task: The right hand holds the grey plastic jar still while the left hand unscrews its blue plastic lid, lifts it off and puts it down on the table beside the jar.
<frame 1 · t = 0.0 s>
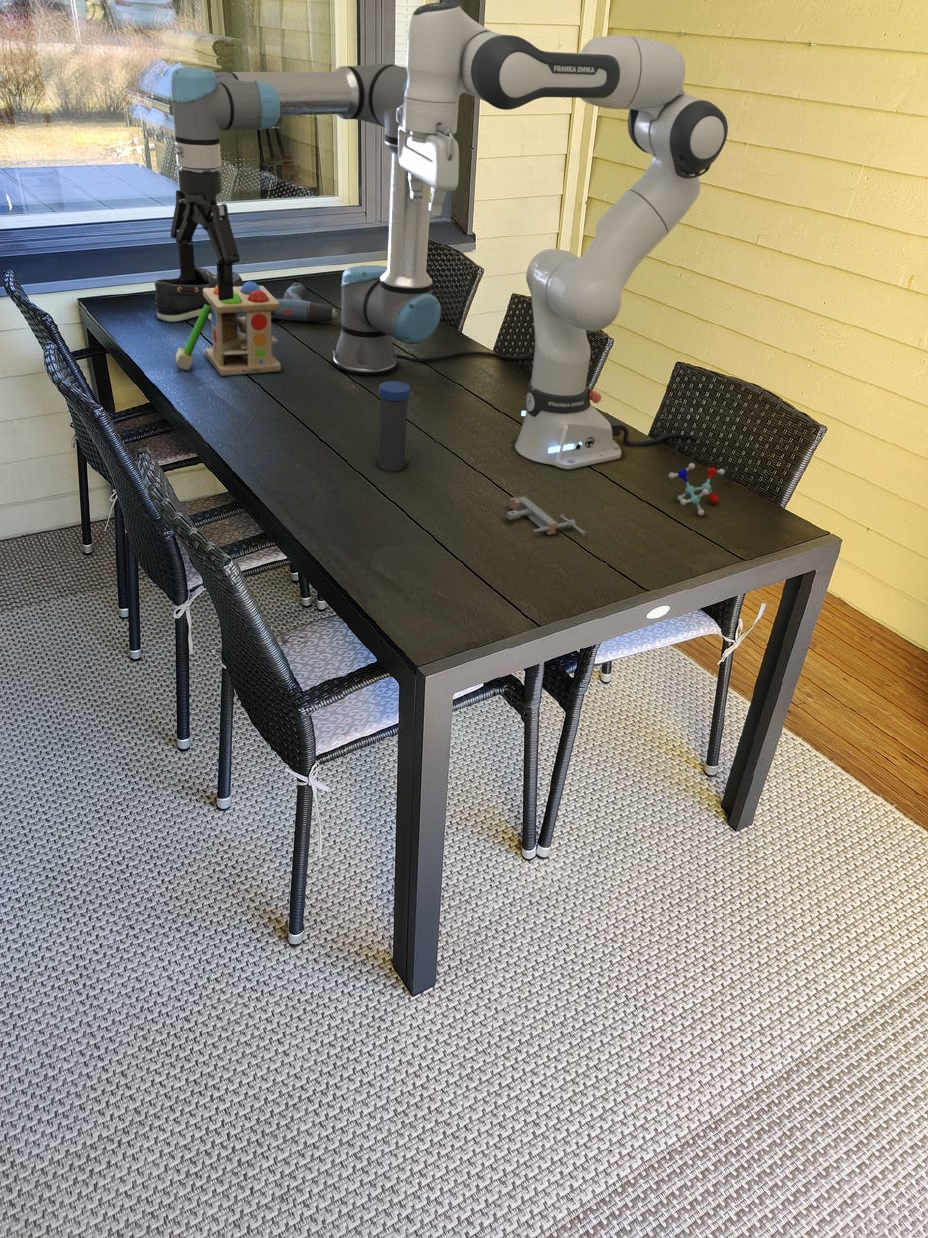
left hand: (206, 289, 186), 28 cm above the table, tool pointing down, fingers open, 13 cm apart
right hand: (425, 208, 168), 48 cm above the table, tool pointing down, fingers open, 8 cm apart
boat shoe: (202, 306, 265), on the table
lid: (394, 388, 185), point 16 cm above the table, screwed on, not yet turned
clamp: (540, 525, 178), on the table
jar: (391, 465, 194), on the table
power drill: (305, 313, 267), on the table
molecular model: (690, 504, 190), on the table
pounding bench toy: (225, 365, 230), on the table
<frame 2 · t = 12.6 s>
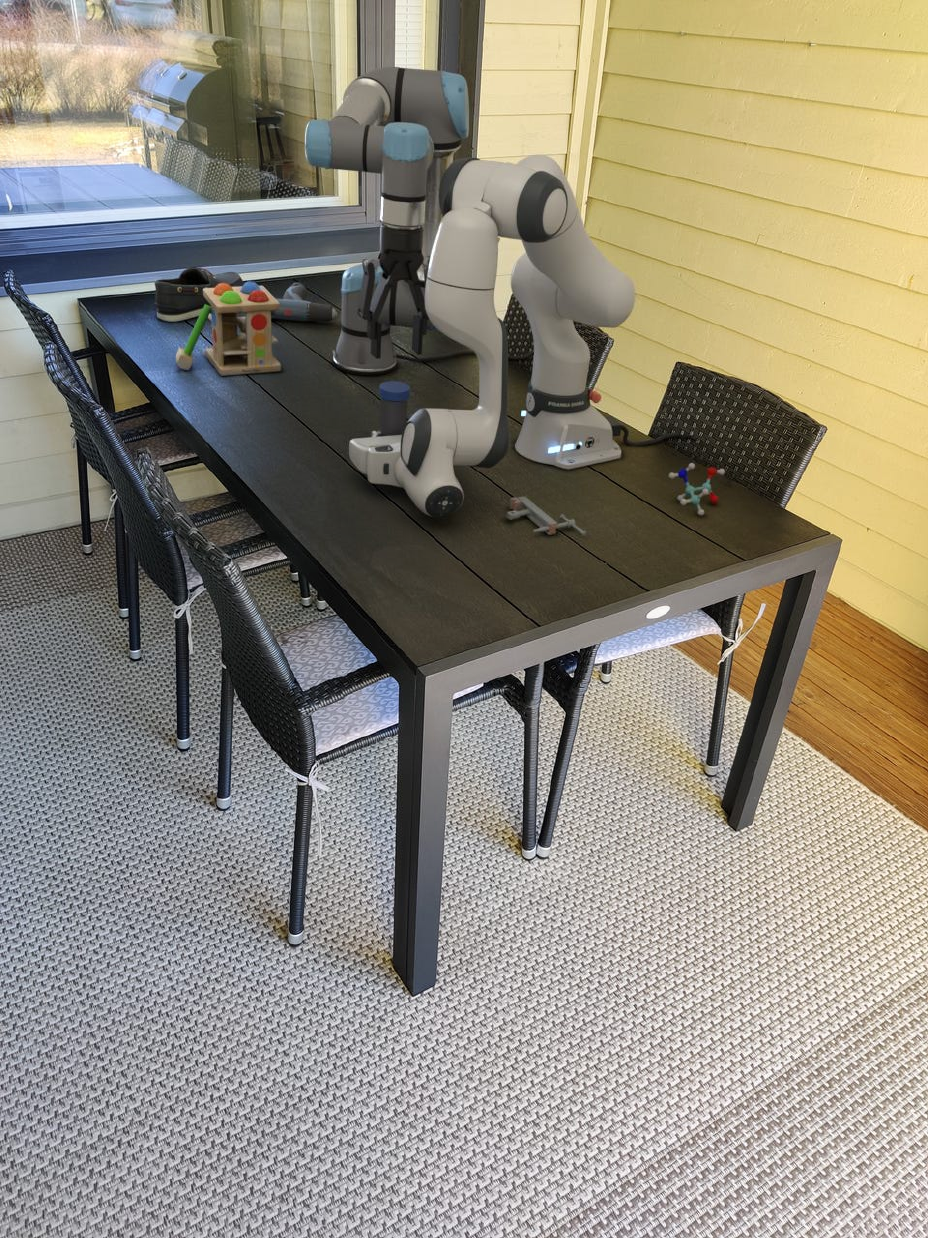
left hand: (396, 353, 181), 23 cm above the table, tool pointing down, fingers open, 8 cm apart
right hand: (390, 432, 191), 7 cm above the table, tool horizontal, fingers closed on jar, 5 cm apart
jar: (391, 465, 194), on the table, touching right hand
everything else where it was.
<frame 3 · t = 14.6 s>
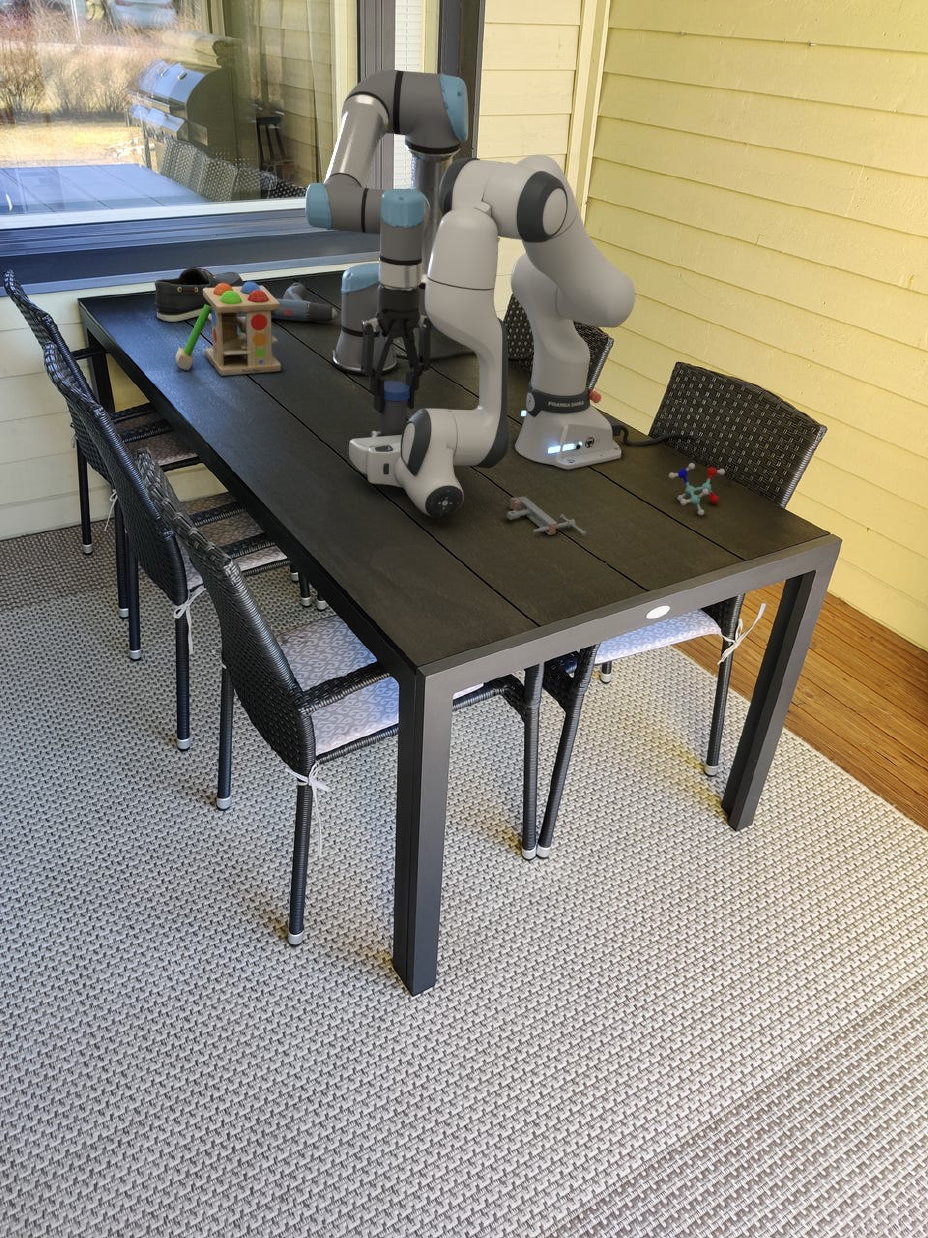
left hand: (393, 407, 187), 12 cm above the table, tool pointing down, fingers closed on lid, 6 cm apart
right hand: (390, 432, 191), 7 cm above the table, tool horizontal, fingers closed on jar, 5 cm apart
lid: (394, 388, 185), point 16 cm above the table, screwed on, not yet turned, touching left hand
jar: (391, 465, 194), on the table, touching right hand
everything else where it was.
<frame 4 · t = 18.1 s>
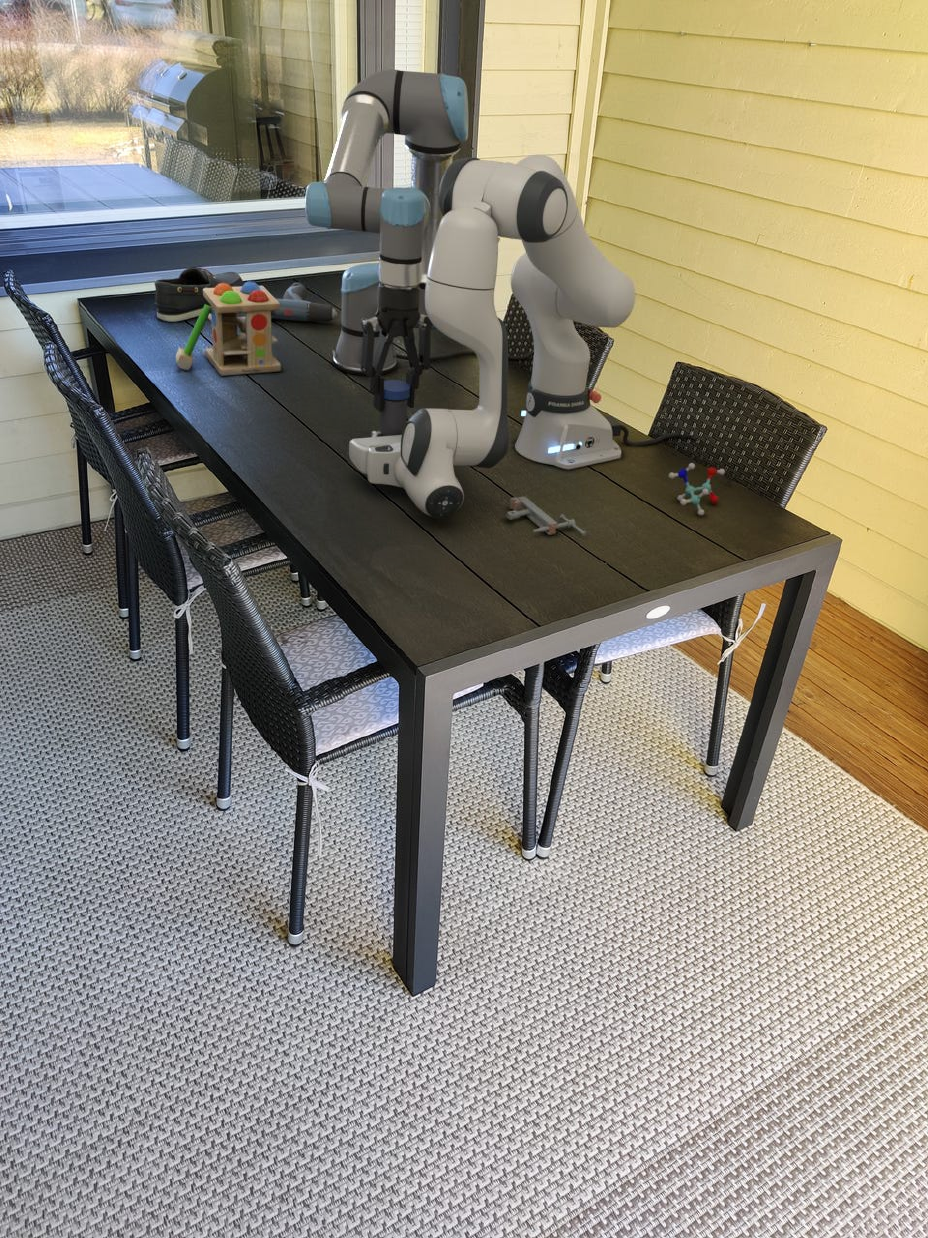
left hand: (393, 406, 187), 12 cm above the table, tool pointing down, fingers closed on lid, 6 cm apart
right hand: (390, 432, 191), 7 cm above the table, tool horizontal, fingers closed on jar, 5 cm apart
lid: (394, 387, 184), point 16 cm above the table, turned 122° so far, risen 0.2 cm, still on its thread, touching left hand
jar: (391, 465, 194), on the table, touching right hand
everything else where it was.
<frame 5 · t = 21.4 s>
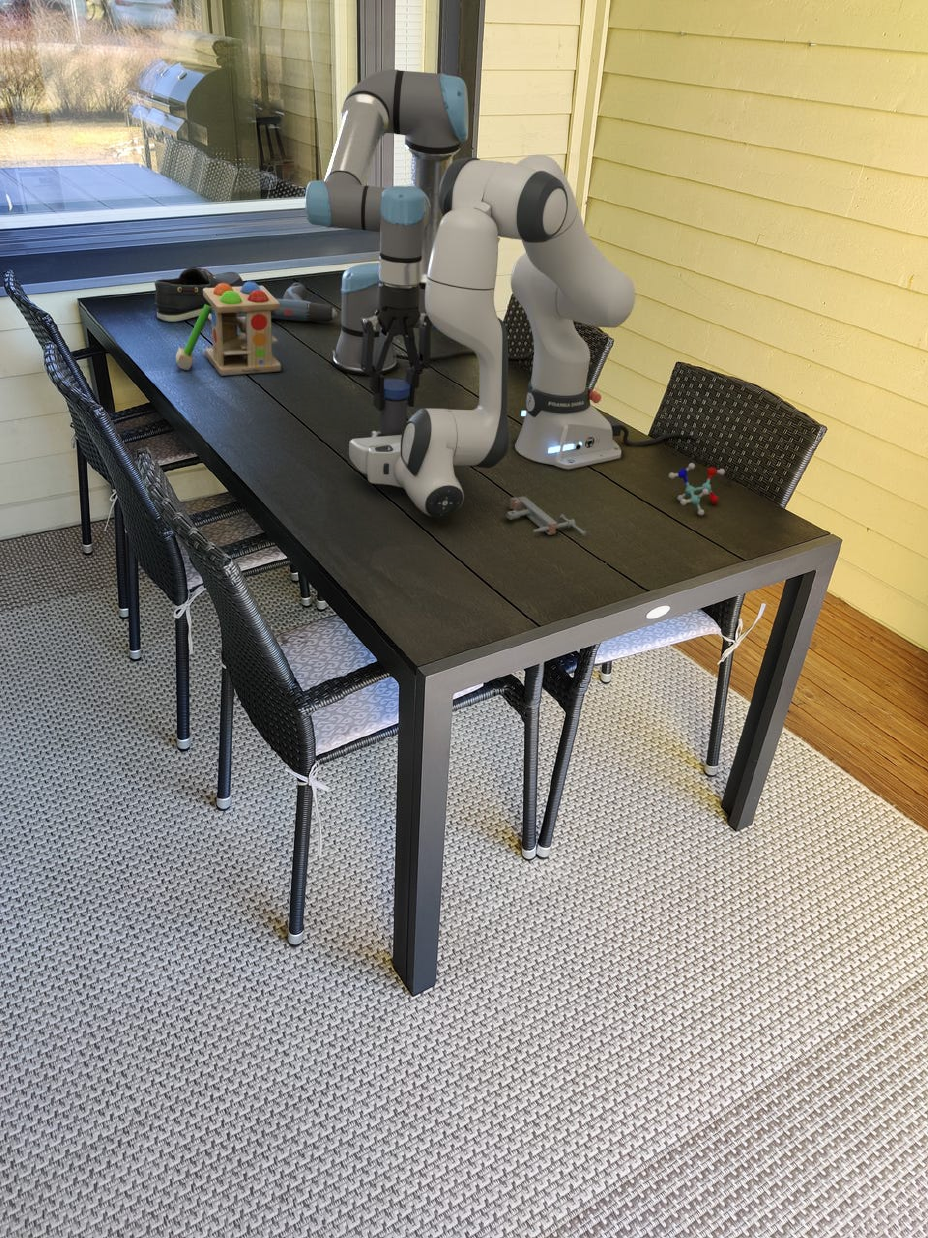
left hand: (393, 405, 187), 12 cm above the table, tool pointing down, fingers closed on lid, 6 cm apart
right hand: (390, 432, 191), 7 cm above the table, tool horizontal, fingers closed on jar, 5 cm apart
lid: (394, 386, 184), point 16 cm above the table, turned 244° so far, risen 0.4 cm, still on its thread, touching left hand
jar: (391, 465, 194), on the table, touching right hand
everything else where it was.
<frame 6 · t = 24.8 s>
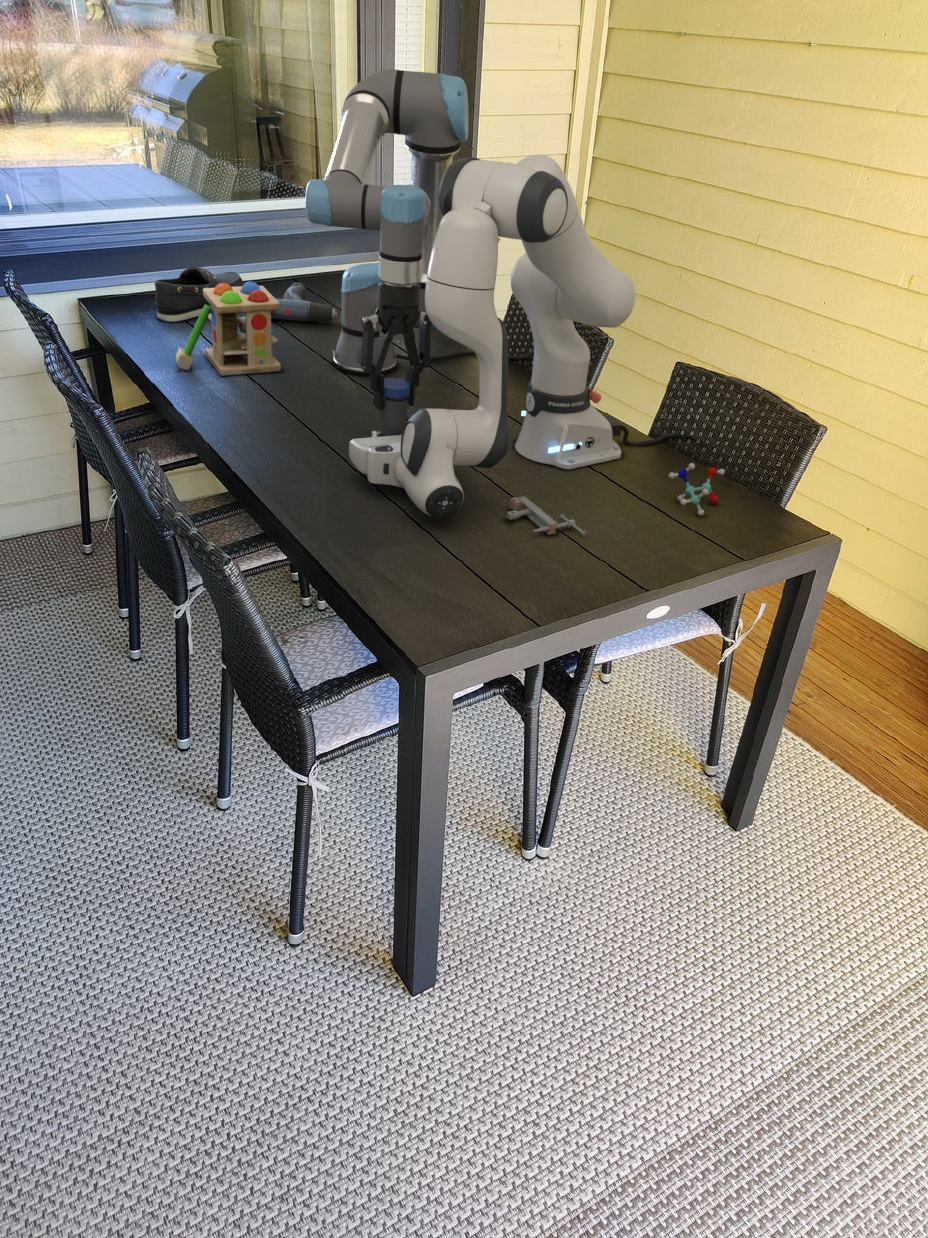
left hand: (393, 404, 186), 13 cm above the table, tool pointing down, fingers closed on lid, 6 cm apart
right hand: (390, 432, 191), 7 cm above the table, tool horizontal, fingers closed on jar, 5 cm apart
lid: (394, 385, 184), point 17 cm above the table, turned 366° so far, risen 0.6 cm, still on its thread, touching left hand
jar: (391, 465, 194), on the table, touching right hand
everything else where it was.
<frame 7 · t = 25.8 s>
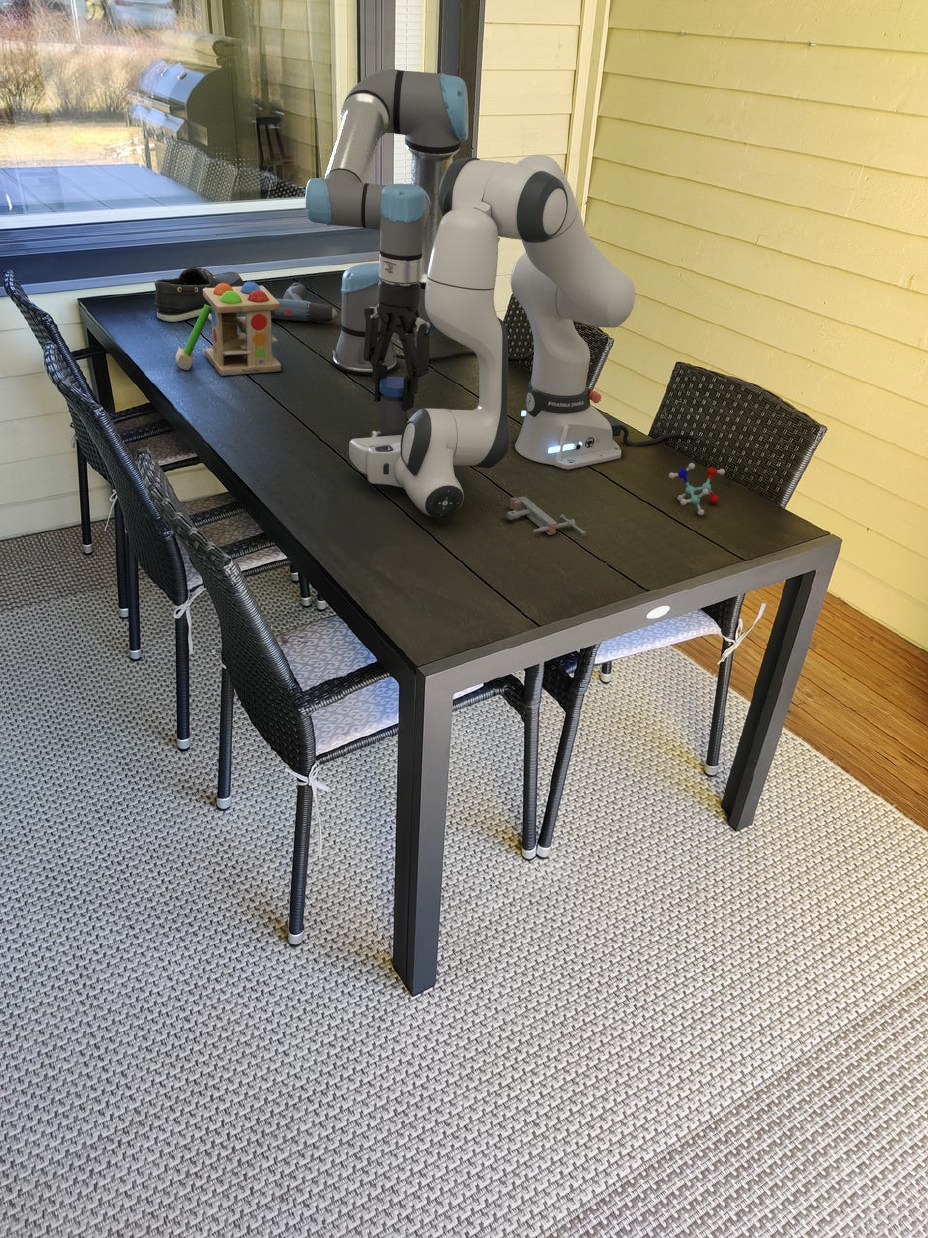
left hand: (394, 403, 186), 13 cm above the table, tool pointing down, fingers closed on lid, 6 cm apart
right hand: (390, 432, 191), 7 cm above the table, tool horizontal, fingers closed on jar, 5 cm apart
lid: (395, 384, 184), point 17 cm above the table, off its thread, touching left hand
jar: (391, 465, 194), on the table, touching right hand
everything else where it was.
when the left hand's fingers open (0 cm above the table, at t = 31.8 s): lid drops 3 cm, point 1 cm above the table.
when the right hand's fingers open (7 cm above the table, at t = 32.5 s): jar stays where it is, on the table.
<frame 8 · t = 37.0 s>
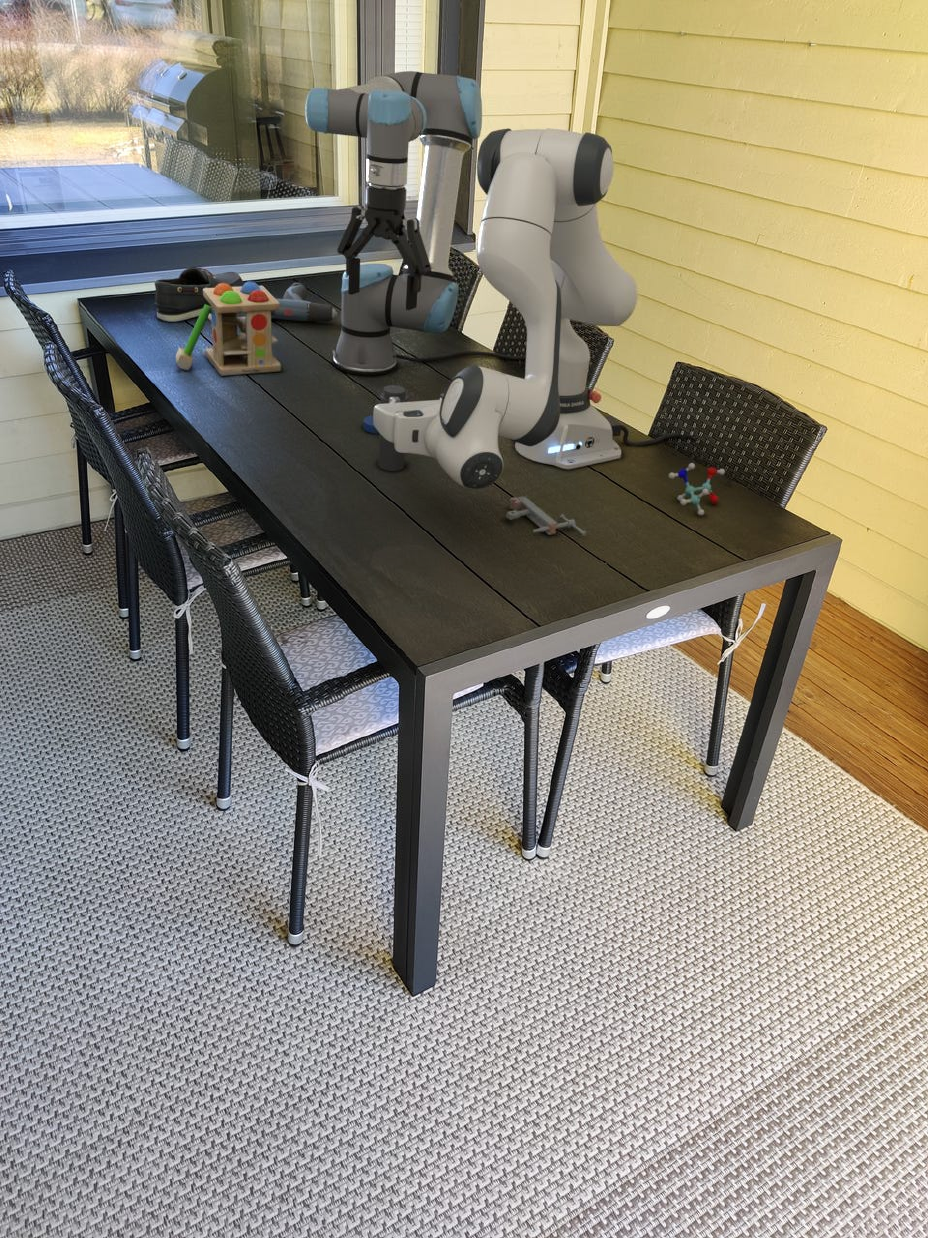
left hand: (382, 300, 193), 27 cm above the table, tool pointing down, fingers open, 13 cm apart
right hand: (418, 399, 173), 19 cm above the table, tool horizontal, fingers open, 8 cm apart
lid: (377, 422, 207), point 1 cm above the table, off its thread
jar: (391, 465, 194), on the table
everything else where it was.
at the end: lid came off its thread; lid point 1.4 cm above the table; the left hand is holding nothing; the right hand is holding nothing; jar tilted 0°; jar moved 0.0 cm from its start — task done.
